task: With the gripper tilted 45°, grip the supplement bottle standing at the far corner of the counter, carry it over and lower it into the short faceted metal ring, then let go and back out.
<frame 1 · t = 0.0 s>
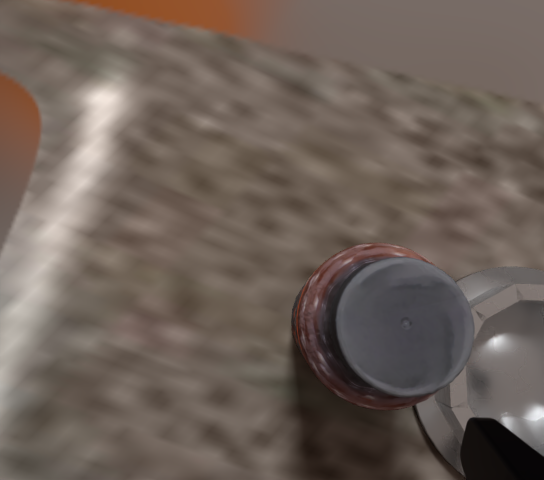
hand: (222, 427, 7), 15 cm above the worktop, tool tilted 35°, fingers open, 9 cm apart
faceted metal ring: (519, 377, 21), on the worktop
supplement bottle: (342, 321, 22), on the worktop
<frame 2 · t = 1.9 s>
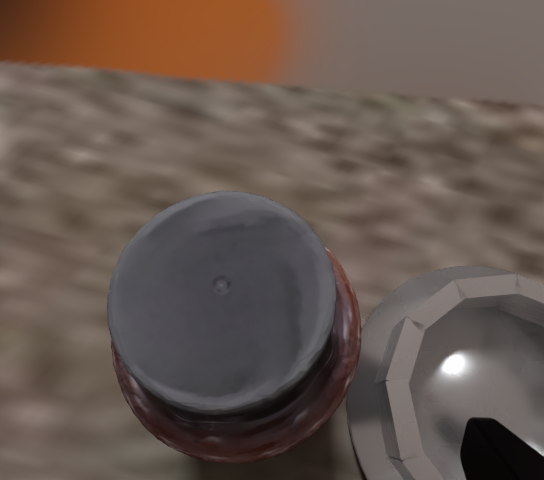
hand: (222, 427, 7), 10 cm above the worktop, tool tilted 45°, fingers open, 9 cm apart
faceted metal ring: (492, 407, 16), on the worktop
supplement bottle: (255, 365, 17), on the worktop
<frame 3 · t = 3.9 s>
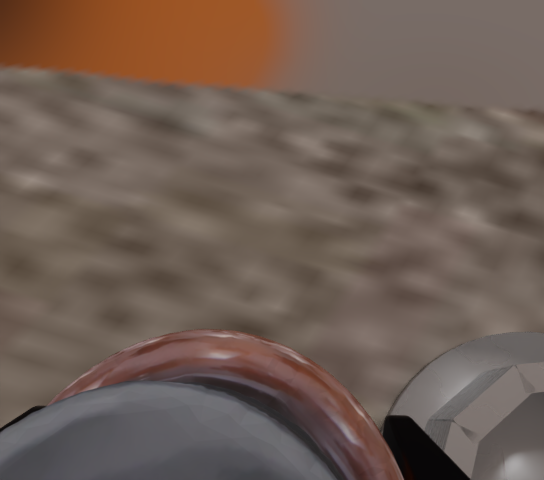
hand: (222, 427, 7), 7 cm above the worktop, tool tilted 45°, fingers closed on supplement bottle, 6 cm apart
supplement bottle: (245, 468, 13), on the worktop, touching gripper
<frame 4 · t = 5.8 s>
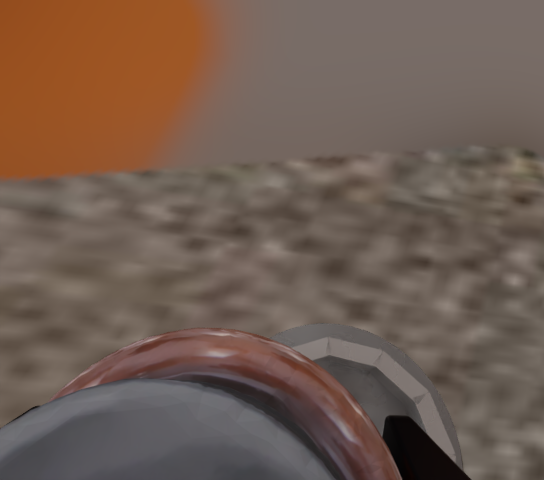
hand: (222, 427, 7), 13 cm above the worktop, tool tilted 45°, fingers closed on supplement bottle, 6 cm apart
faceted metal ring: (329, 451, 19), on the worktop
supplement bottle: (245, 466, 13), point 6 cm above the worktop, touching gripper
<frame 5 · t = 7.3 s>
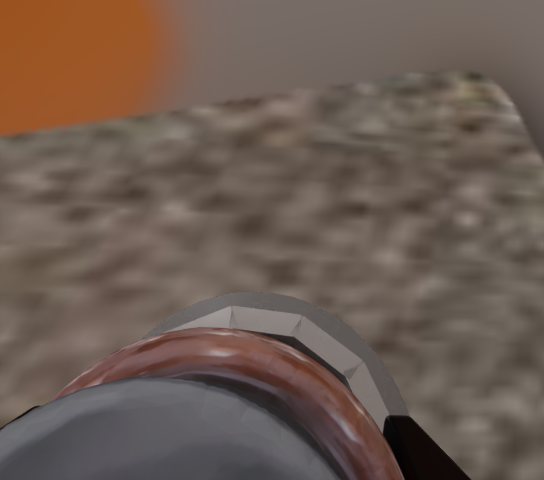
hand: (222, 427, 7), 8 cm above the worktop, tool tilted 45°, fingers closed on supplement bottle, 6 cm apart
faceted metal ring: (250, 453, 15), on the worktop
supplement bottle: (245, 466, 13), point 2 cm above the worktop, touching gripper
when the fingers open (8 cm above the worktop, at t = 8.1 s): supplement bottle drops 1 cm, resting on faceted metal ring.
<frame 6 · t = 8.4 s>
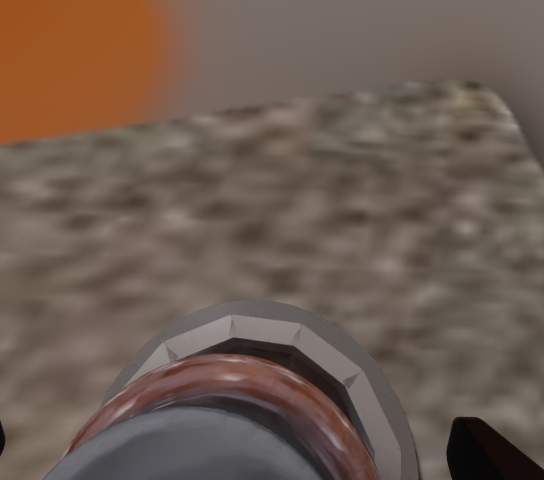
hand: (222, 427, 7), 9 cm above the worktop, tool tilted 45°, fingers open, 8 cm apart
faceted metal ring: (250, 461, 15), on the worktop
supplement bottle: (248, 468, 14), resting on faceted metal ring
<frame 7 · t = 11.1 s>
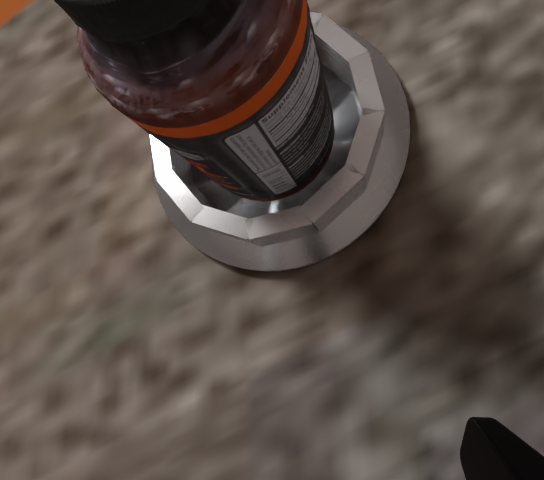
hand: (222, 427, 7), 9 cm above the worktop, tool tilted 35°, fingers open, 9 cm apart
faceted metal ring: (272, 142, 18), on the worktop
supplement bottle: (272, 143, 18), resting on faceted metal ring
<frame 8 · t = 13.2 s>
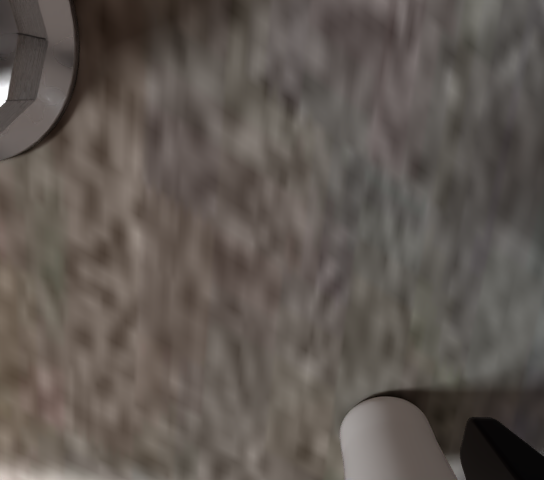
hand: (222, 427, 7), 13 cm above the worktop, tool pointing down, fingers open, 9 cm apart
drinking glass: (381, 423, 24), on the worktop
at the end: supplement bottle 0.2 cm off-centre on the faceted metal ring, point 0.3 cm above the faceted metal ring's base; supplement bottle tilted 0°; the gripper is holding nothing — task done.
